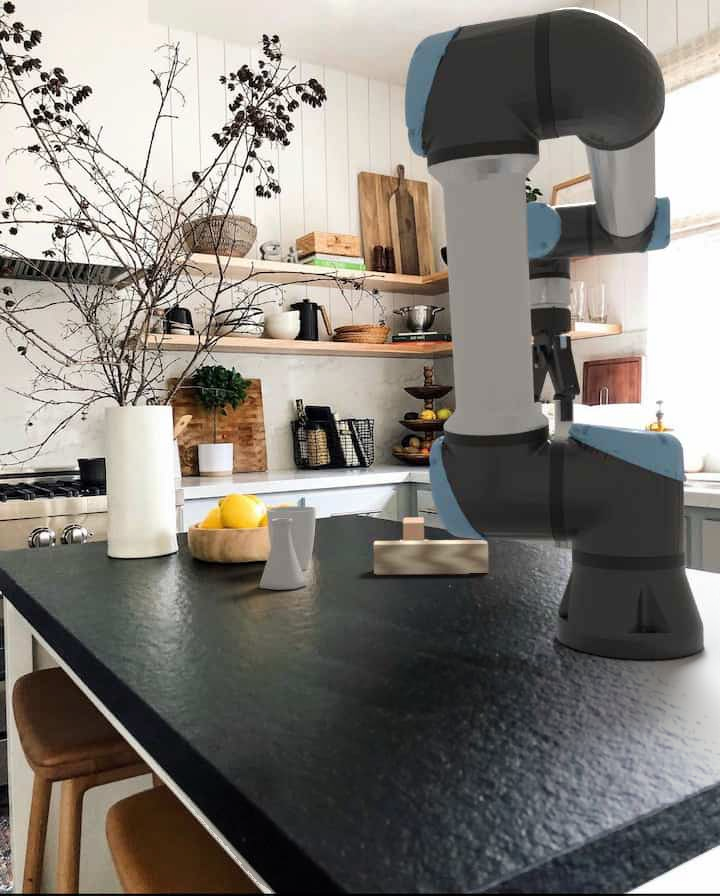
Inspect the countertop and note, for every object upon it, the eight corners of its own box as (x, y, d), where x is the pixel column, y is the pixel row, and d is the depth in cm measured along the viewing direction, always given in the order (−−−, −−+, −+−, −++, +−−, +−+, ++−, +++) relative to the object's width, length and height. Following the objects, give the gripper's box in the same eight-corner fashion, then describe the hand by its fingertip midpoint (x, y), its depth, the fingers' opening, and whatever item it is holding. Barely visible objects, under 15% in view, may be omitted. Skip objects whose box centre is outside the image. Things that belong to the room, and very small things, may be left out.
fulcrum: (429, 564, 138) (428, 522, 137) (399, 564, 138) (398, 523, 138) (428, 556, 146) (427, 517, 145) (400, 556, 146) (399, 517, 146)
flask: (299, 592, 117) (298, 522, 117) (251, 590, 119) (250, 522, 119) (312, 582, 124) (311, 516, 124) (267, 581, 126) (265, 516, 126)
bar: (486, 570, 133) (485, 539, 132) (488, 575, 129) (488, 543, 128) (375, 571, 134) (374, 541, 134) (374, 576, 130) (373, 544, 130)
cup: (320, 564, 139) (319, 506, 139) (312, 573, 131) (311, 511, 131) (273, 564, 140) (272, 506, 140) (263, 573, 132) (261, 511, 132)
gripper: (602, 297, 118) (603, 444, 119) (541, 318, 143) (543, 440, 144) (552, 297, 117) (554, 445, 118) (500, 318, 142) (502, 441, 143)
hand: (548, 442), depth 131 cm, fingers open, 13 cm apart
